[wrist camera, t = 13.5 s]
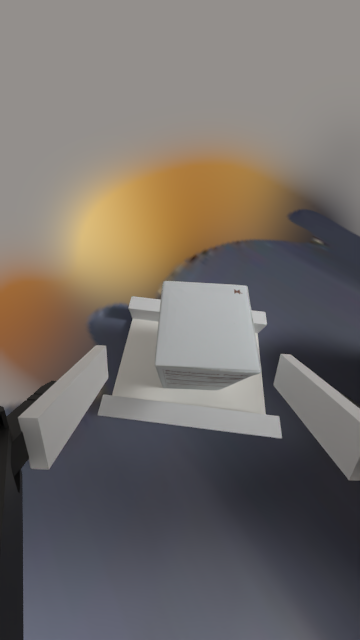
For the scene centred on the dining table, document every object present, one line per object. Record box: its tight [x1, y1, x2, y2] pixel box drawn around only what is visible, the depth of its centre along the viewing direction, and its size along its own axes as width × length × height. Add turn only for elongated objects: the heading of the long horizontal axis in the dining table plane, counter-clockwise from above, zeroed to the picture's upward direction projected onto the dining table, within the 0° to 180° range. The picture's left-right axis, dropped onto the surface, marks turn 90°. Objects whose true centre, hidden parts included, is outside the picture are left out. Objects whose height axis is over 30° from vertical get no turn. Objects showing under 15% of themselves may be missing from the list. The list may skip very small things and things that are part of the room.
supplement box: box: [155, 281, 261, 390], centre depth 19 cm, size 7×7×13 cm
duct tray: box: [98, 296, 282, 438], centre depth 23 cm, size 19×15×4 cm
